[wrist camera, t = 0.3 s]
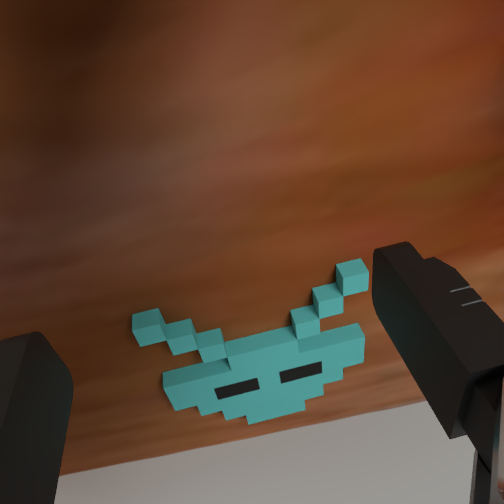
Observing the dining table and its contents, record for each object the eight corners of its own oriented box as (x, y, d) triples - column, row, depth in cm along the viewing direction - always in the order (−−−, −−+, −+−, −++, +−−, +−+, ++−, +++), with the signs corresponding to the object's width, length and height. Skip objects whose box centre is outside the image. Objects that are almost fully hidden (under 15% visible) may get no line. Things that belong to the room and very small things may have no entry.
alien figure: (132, 310, 35) (189, 421, 48) (131, 330, 33) (191, 439, 46) (358, 255, 36) (354, 378, 49) (368, 272, 34) (361, 395, 47)
